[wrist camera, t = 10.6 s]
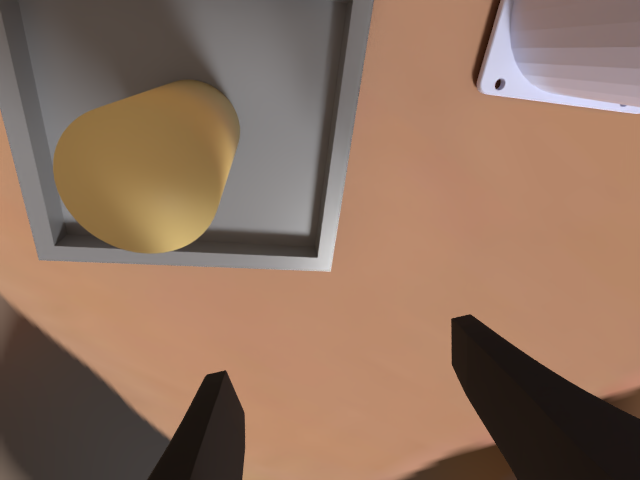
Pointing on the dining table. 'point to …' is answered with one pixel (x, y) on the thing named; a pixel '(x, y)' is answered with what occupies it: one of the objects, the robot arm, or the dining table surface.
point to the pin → (149, 166)
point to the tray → (216, 70)
